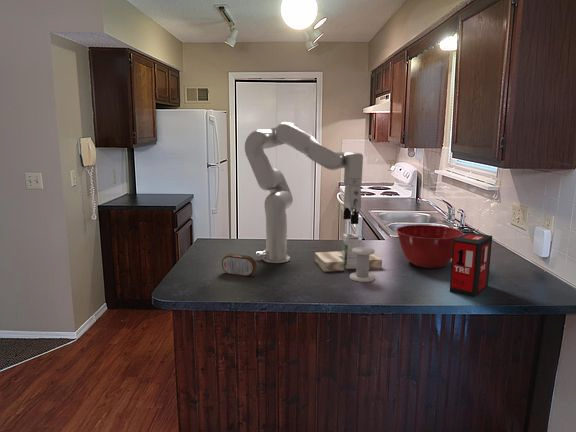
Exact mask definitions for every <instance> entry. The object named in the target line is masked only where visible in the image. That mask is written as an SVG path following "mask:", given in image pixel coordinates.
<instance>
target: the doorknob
mask: <svg viewBox="0 0 576 432" xmlns="http://www.w3.org/2000/svg"><path fill="white" fill-rule="evenodd" d="M352 252H353V253H355V254H357V261H356V268H355V272H351V273H350V274H349V279H350V280H351V281H354V282H357V281H358V283H370V282H373V281H375V278H376V277H375V275H374V274H373V273H370V272H369V270H370V269H369V255H371V254H375V252H376V251H375V249H374V248H372V247H371V248H370V247H365V246H364V247H363V246H358V247H356V248H353V249H352Z"/></svg>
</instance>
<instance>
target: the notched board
mask: <svg viewBox="0 0 576 432" xmlns="http://www.w3.org/2000/svg"><path fill="white" fill-rule="evenodd" d="M342 252H343V250H340V251H323V252H322V251H321V252H320V251H319V252H314V263H316V264H317V266H319V268H320V269H321V270H322V271H323V272H337V271H338V272H339V271H341V272H342V271H345V268H344V261H343V260H342ZM382 266H383V259H382V258H381V257H379V256H378V255H376V254H375V253H374V254H371V255H369V270H378V269H382V268H383V267H382Z"/></svg>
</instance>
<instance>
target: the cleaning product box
mask: <svg viewBox="0 0 576 432" xmlns="http://www.w3.org/2000/svg"><path fill="white" fill-rule="evenodd" d="M492 245H493V235H490V234H489V235H488V234H482V233H475V232H467V233H465V234H464V233H463V235H462V236H460V237H459V238H457V239H455V240H453V253H452V259H451V267H450V269H451V271H450V282H449V293H452V294H457V295H460V296H461V295H462V296H465V297H471V298H475V297H476V296H478V295H479V294H480V293H481V292H482V291H484V290H485V289H486V288H487V287H488V286H489V279H490V278H489V276H490V267H491V266H490V265H491V255H492V247H493V246H492Z"/></svg>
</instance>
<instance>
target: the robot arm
mask: <svg viewBox="0 0 576 432" xmlns="http://www.w3.org/2000/svg"><path fill="white" fill-rule="evenodd" d="M284 144H286V145H287V146H289V147H290V148H292V149H294V150H295V151H298V152H299V153H301V154H303V155H305V157H307V158H308V159H310V160H311V161H313V162H314V163H316V164H318V165H320V166H321V167H323V168H325V169H327V170H330V171H336V170H341V169H344V170H343V171H344V174H343V186H345V187H344V192H343V193H344V194H343V206H344V207H343V216H342V217H343V220H350V224H351V225H359V215H360V210H361V209H362V189H361V188H362V181H363V166H364V165H363V164H364V155H363V154H362V153H361V152H344V151H339V150H338V151H337V150H336V151H333V150H331V149H329V148H327V147H326V146H324V145H322V144H321V143H320V142H318V141H317V139H316V138H315V136H314V135H311V134H310V133H308V132H306V131H304V130H302V129H300V128H299V126H298V125H297V124H295V123H293V122H287V121H283V122H281V123H279V124H278V125H277V126H275V127H272V128H269V129H255V130H253V131H251V133H249V135H248V136H247V137H246V139H245V142H244V152H245V156H246V159H247V160H248V163H249V165H250V167H251V170H252V172H253V174H254V177H255V179H256V182H257V185H258V187H259V188H260V189H261V190H263V191H268V192H270V193H269V194H268V195H267V196H266V197H265V200H264V205H263V206H264V213H265V233H266V234H265V235H266V236H265V247H266V248H265V249H264V250H263V251H256V252H255V256H256V257H258V256H259V258H260V257H262V260H263V262H266V263H268V264H269V263H271V264H282V263H283V264H284V263H287V262H289V261H290V260H291V257H290V256H289V255H288V219H287V212H286V211H287V209H289V208H290V207H291V206H292V204H293V195H292V191H291V189H290V187H289V184H288V181H287V179H286V178H285V176H284V173H282V171H281V170H280V169H278V168H275V167H272V165H271V163H270V160H269V157H268V155H267V154H266V153H265V151H264V150H265V149H271V148H274V147H279V146H282V145H284Z"/></svg>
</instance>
